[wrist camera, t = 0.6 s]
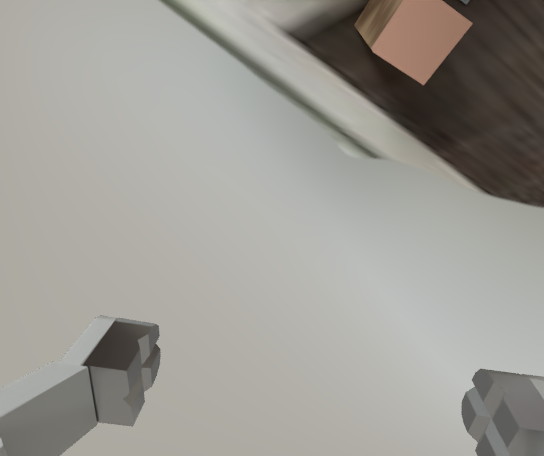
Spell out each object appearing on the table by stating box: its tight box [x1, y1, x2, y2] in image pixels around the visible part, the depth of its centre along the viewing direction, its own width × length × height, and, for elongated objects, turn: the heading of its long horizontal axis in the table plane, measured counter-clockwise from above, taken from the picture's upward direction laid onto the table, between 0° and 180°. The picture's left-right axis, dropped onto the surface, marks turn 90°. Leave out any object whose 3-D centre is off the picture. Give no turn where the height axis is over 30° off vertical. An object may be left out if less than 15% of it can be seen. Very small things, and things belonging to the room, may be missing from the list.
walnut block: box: [354, 0, 473, 85], centre depth 38 cm, size 6×6×14 cm
